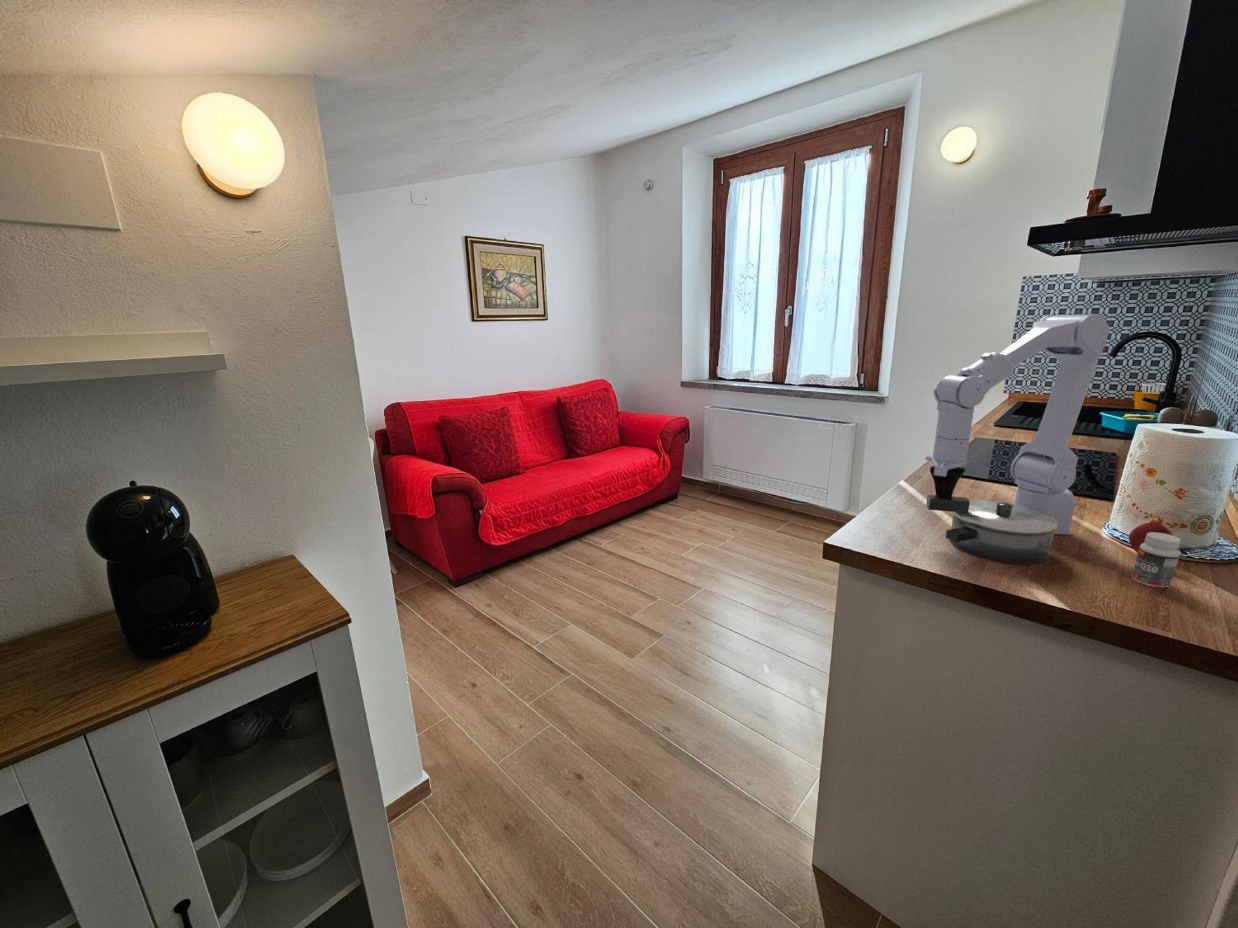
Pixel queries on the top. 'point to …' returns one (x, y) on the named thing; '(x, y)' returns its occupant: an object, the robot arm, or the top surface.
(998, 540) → the cooker pot
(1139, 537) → the onion
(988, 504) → the cooker lid
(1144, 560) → the pill bottle
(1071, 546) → the top surface
